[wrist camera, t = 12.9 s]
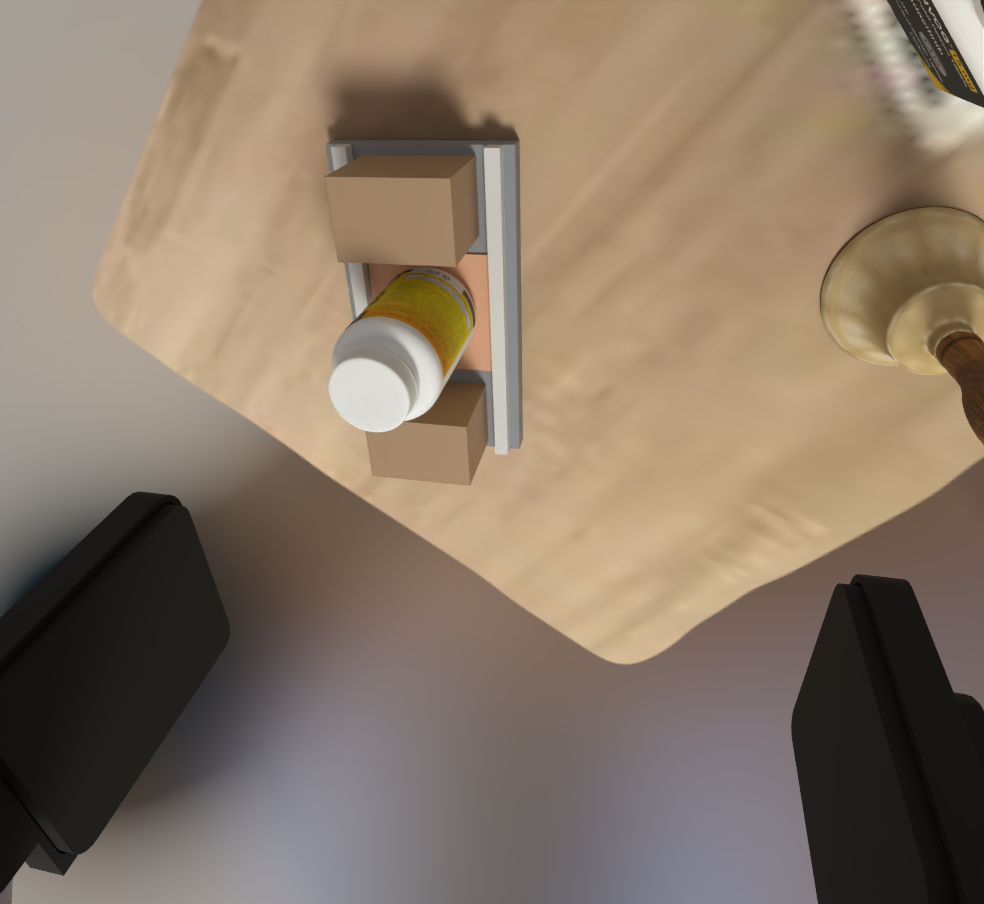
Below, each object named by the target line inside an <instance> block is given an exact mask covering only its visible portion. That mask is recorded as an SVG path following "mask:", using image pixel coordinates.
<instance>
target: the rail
mask: <svg viewBox="0 0 984 904" xmlns="http://www.w3.org/2000/svg"><path fill="white" fill-rule="evenodd" d="M326 147H327V154H328V160H329V167H330V174H328V175H327V176H325V177H324V178H325V184H326V190H327V196H328V203H329V209H330V215H331V221H332V227H333V234H334V240H335V246H336V252H337V258H338V262H344V263H345V269H346V275H347V282H348V288H349V295H350V301H351V307H352V314H353V320H355V319H356V318H357V317H358V316H359V315H360V314H361V313H362V311H363V310H364V309H365V308H366V307H367V306H368V305H369V304H370V303H371V302H372V301H373V299H374V298H375V297H376V296H377V295H378V294H379V293H380V292H381V291H382V290H383V289H384V288H385V287H386V286H387V285H388V284H389V283H390V281H392V280H393V279H394V278H395V277H396V276H397V275H398V274H400V273H401V272H403V271H405V270H408V269H411V268H415V267H433V268H437V269H440V270H443V271H445V272H447V273H449V274H451V275H452V276H454V277H455V278H456V279H457V280H459V281H460V282H461V283H462V284H463V286H464V287H465V288H466V289H467V291H468V293H469V294H470V296H471V298H472V301H473V304H474V307H475V312H476V324H475V330H474V333H473V335H472V338H471V340H470V342H469V344H468V345H467V347H466V349H465V351H464V353H463V354H462V356H461V358H460V360H459V362H458V363H457V365H456V367H455V369H454V371H453V372H452V374H451V376H450V378H449V380H448V381H447V383H446V385H445V386H444V388H443V390H442V392H441V393H440V395H439V397H438V399H437V400H436V401H435V403H434V404H433V406H432V407H431V408H430V409H429V410H428V411H426V412H425V413H424V414H422V415H420V416H419V417H417V418H414V419H411V420H408V421H403V422H402V423H401V424H400V425H399V426H398V427H396V428H394V429H392V430H390V431H386V432H369V431H365V432H366V438H367V444H368V450H369V457H370V463H371V469H372V475H373V476H380V477H389V478H399V479H409V480H419V481H429V482H438V483H448V484H458V485H468V486H470V485H471V482H472V480H473V477H474V475H475V472H476V470H477V467H478V465H479V462H480V459H481V457H482V454H483V452H484V449H485V447H486V446H494V447H495V454H504V455H508V453H509V450H510V448H516V449H519V448H520V445H521V442H522V439H523V426H522V336H521V246H520V157H519V140H333V141H331V142H329V143H327V144H326Z"/></svg>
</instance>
